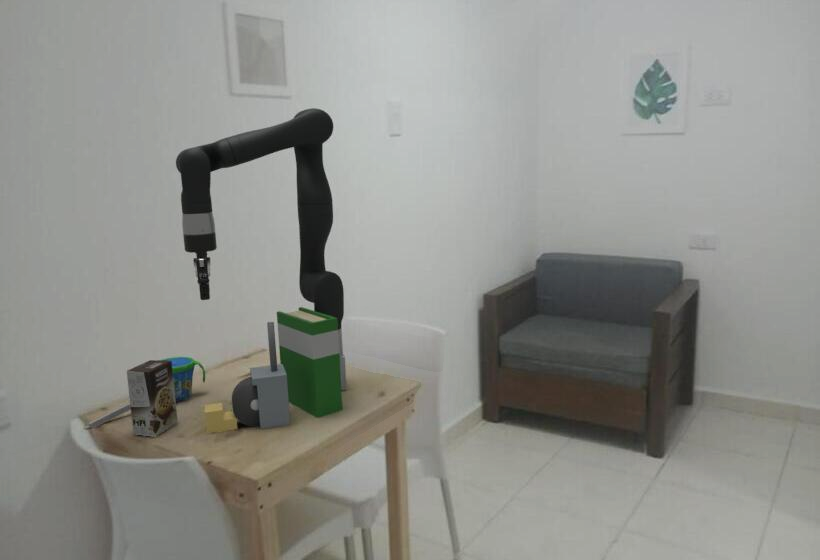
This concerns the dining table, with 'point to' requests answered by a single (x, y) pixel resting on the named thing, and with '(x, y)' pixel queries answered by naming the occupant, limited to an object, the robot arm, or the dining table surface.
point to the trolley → (263, 393)
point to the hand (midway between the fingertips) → (205, 296)
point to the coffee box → (152, 397)
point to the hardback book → (311, 360)
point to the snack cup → (183, 375)
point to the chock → (219, 418)
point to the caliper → (109, 416)
